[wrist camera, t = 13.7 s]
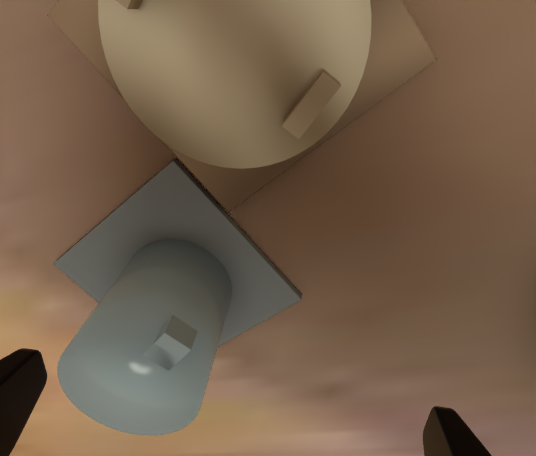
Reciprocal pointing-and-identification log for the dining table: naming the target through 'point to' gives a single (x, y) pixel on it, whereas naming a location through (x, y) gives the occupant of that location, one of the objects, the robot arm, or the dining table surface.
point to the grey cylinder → (150, 341)
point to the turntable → (237, 72)
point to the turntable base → (367, 95)
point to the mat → (185, 229)
